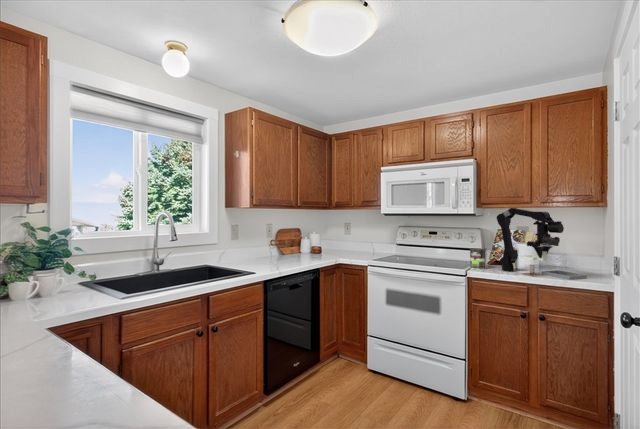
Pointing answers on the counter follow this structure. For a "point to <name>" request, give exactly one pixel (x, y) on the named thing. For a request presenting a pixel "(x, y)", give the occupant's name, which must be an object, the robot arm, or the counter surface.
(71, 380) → the counter surface
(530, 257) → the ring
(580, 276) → the tray
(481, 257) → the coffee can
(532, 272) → the stake stand
